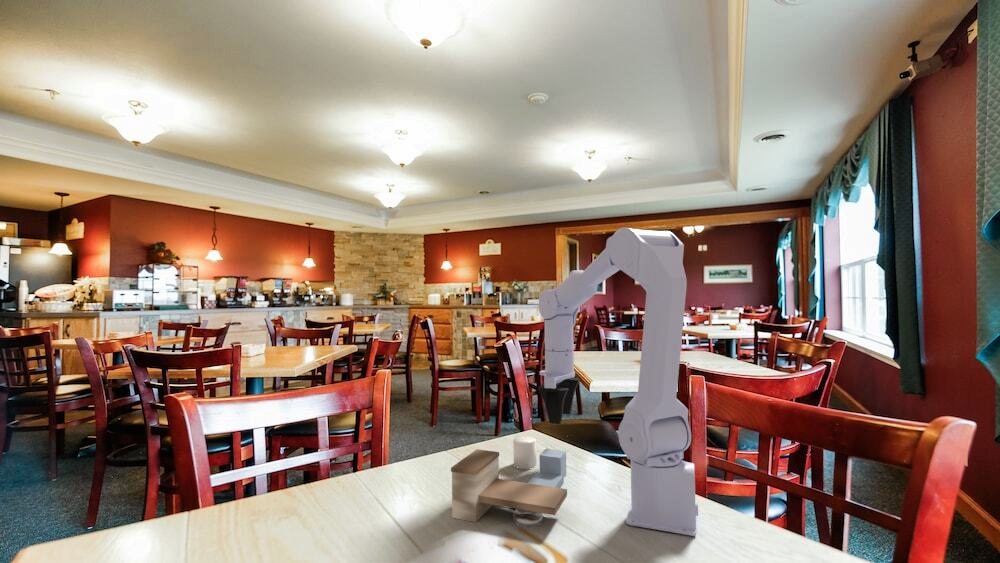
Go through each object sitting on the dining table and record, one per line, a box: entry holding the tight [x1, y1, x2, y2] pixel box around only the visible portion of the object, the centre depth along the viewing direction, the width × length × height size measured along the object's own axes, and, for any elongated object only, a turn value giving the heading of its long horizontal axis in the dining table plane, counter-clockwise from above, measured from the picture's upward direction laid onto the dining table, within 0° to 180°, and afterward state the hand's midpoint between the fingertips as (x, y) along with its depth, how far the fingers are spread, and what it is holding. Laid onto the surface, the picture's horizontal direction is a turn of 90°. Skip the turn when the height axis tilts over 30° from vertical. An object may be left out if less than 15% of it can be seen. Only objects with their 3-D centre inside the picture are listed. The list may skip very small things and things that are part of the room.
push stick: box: [527, 448, 567, 488], centre depth 81 cm, size 5×16×4 cm, turn 158°
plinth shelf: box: [450, 449, 568, 523], centre depth 72 cm, size 16×9×8 cm, turn 67°
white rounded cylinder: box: [512, 436, 538, 470], centre depth 93 cm, size 5×5×5 cm
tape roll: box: [513, 508, 544, 528], centre depth 70 cm, size 4×4×1 cm
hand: (560, 418), depth 92 cm, fingers open, 7 cm apart
